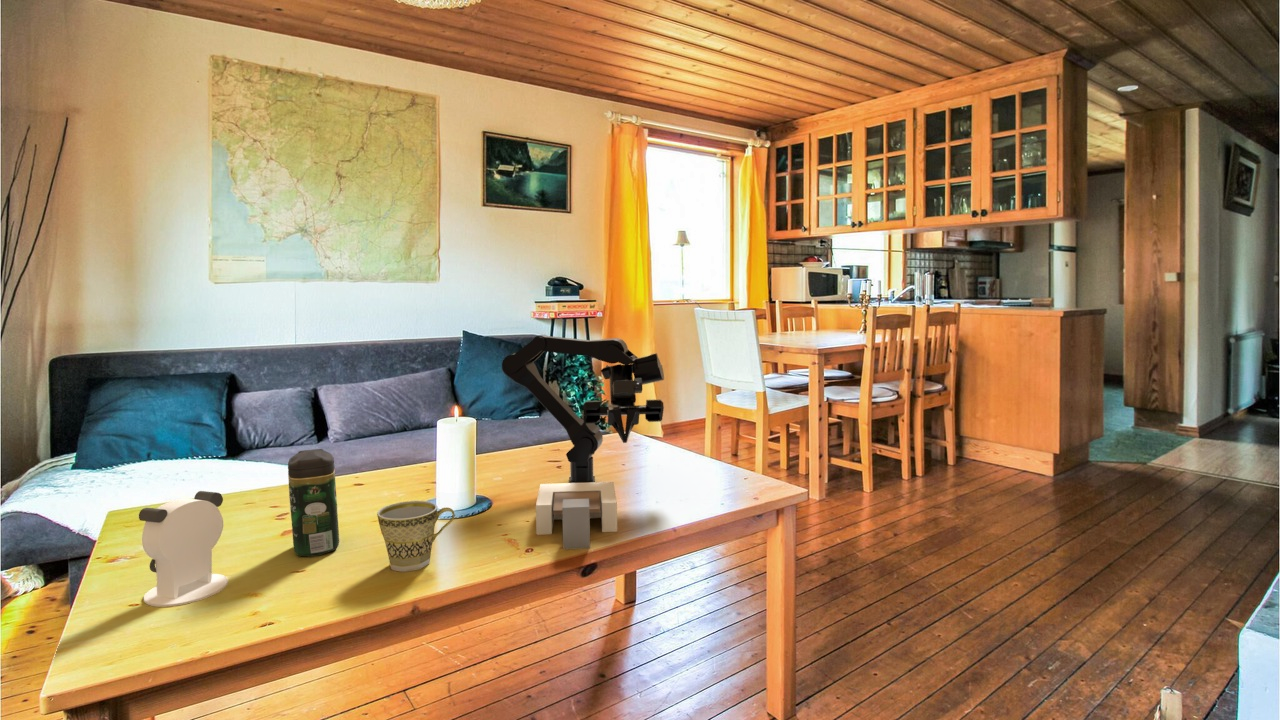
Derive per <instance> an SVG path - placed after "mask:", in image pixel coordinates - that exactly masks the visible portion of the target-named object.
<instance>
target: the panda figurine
mask: <svg viewBox="0 0 1280 720" xmlns="http://www.w3.org/2000/svg"><path fill="white" fill-rule="evenodd" d="M223 498H224V497H223V496H222V494H221V493H220V492H214V491H204V490H199V491H198V492H196V493H195V495H194V499H193V498H179V499H173V500H171V501H168V502H166V503H163V504H162V505H159V506H158V507H156V508H154V507H144V508H142V509H141V510H140V511H139V513H138V520H139V521H142V522H144V525H143V530H142V535H141V545H142V548H143V550H144V552H145V554H146V555H147V556H148V557H149V558H151V560H150V562H149V570H150V571H151V572H153V573H155V574H156V585H155V586H154V587H153V588H151V589H149V590H148V591H147V592H146V593H145V594H144V595H143V602H144V603H145V604H146V605H148V606H152V607H157V608H158V607H159V608H161V607H163V608H165V607H166V608H167V607H175V606H182V605H186V604H190V603H195V602H198V601H202V600H204V599H207V598H210V597H212V596H214V595H217V594H218V593H219V592H221V591H223V590H224V589H225V588H226V587H227V586H228V584H229V579H228V577H227V576H226V575H223V574H220V573H212V572H213V571H212V569H213V568H212V567H213V564H212V563H213V560H212V558H213V554H212V553H213V549H214V547H215V546H216V545H217V543H218V541H219V540H220V538H221V535H222V533H223V530H224V518H223V516H222V513H221V511H220V510H219V507H221V506H222V504H223V501H224V499H223Z"/></svg>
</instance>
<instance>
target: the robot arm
mask: <svg viewBox="0 0 1280 720" xmlns="http://www.w3.org/2000/svg"><path fill="white" fill-rule="evenodd" d="M545 352H548V353H556V354H566V355H576V356H585V357H590V358H593V359H595V360H598V361H601V362H604V363H608V364H607V365H606V366H605V367H603V368H601V370H600V372H601V374H602V377H603V378H604V380H609V394H610V395H609V396H610V399H609V400H610V404H607V406H601V401H600V400H586V401H584V402H583V418H581V417H579V416H578V414H577V413H575V412H574V411H573V410H572V408H570V406H569V405H568V404H567V403H566V402H565V401H564V400H563V398H561V397H560V396H559V395H558V393H556V392H555V390H553V388H552V387H551V386H550V385H549V383H547V382H546V381H545V380H544V379H543V378H542V376H541V375H540V373H539V370H538V368H537V366H536V364H535V363H534V362H535V361H537V360H538V359H539V358H540V357H541V355H542V354H543V353H545ZM609 364H614V365H609ZM501 370H502V372H503V374H504V375H505V376H507V377H508V378H509V379H511V380H512V381H513V382H514V383H516V384H518V385H520V386H522V387H524V388H525V389H526V390H528V391H529V392H530V393H531V395H533V396H534V398H536V399H537V401H538V402H539V403H540V404H541V405H542V406H543V407H544V408H545V410H547V411H548V412H549V413H550V414H551V415H552V417H553V418H554V419H555V420H556V421H557V422H558V423H559V424H560V426H562V427H563V428H564V429H565V431H566V433H567V436H568V438H569V440H570V442H571V443H572V445H573V446H572V447H571V449H570V450H568V452H567V453H566V454H565V455H566V457H567V461H568V463H570V465H569V466H570V468H569V469H570V471H569V472H570V476H569V477H568V483H589V482H596V476H595V475H594V457H593V455H594V454H595V452H596V451H597V450H598V449H599V448H600V447H601V445H602V443H603V438H604V437H603V436H604V435H603V433H602V432H601V431H600V430H601V427H600V426H598V425H596V424H598V423H599V422H600V421H601V417H606V418H607V425H608V426H612V427H613V429H614V430H615V431H616V433H617V434H618V436H619V437H620V439H621V441H622V443H623V444H627V443H628V440H629V437H630V434H631V432H632V430H633V428H634V426H637V425H639V422H640V421H639V420H640V415H644V416H645V417H644V418H645V420H646V421H648V422H649V423H653V422H654V423H655V422H656V423H657V422H659V423H660V422H662V421H663V416H664V408H665V407H664V402H663V401H662V399H646V400H645V405H644V404H643V405H642V404H641V405H636V401H637V400H636V397H637V396H636V394H642V393H643V385H648V384H653V383H656V382H657V383H658V382H661V381H664V380H665V373H664V367H663V365H662V363H661V361H660V358H659V355H658V353H651V354H649V355H646V356H645V355H644V356H642V357H638V356H636V354H634V353H633V352H632V351H631V350H630V349H629V347H628V346H627V343H626V342H625V340H623V339H622V338H616V337H615V338H614V337H613V338H604V339H603V338H602V339H601V338H600V339H592V340H590V339H580V338H570V337H561V336H560V337H559V336H549V335H547V334H539V335H537V336H534V337H533V339H532V340H531V341H529V343H527V344H526V345H525V346H523V347H522V348H520V349H518V350H517V352H514V353H512V354H508V355H506V356H505V357H504V358H503V360H502V362H501ZM623 416H626V419H625V421H626V422H625V428H624V423H623V418H622V417H623Z"/></svg>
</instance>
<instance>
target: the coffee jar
mask: <svg viewBox="0 0 1280 720" xmlns="http://www.w3.org/2000/svg"><path fill="white" fill-rule="evenodd" d="M287 463H288V464H287V469H288V470H287V471H288V472H287V473H288V474H287V475H288V476H287V477H288V492H289V494H288V497H289V508H290V518H291V531H292V543H293V551H294V553H295V554H296V556H300V557H301V556H302V557H303V556H304V557H305V556H306V557H317V556H321V555H324V554H326V553H329V552H333V551H335V550H336V549H338V547H339V545H340V544H339V543H340V530H339V519H338V518H339V517H338V501H337V500H338V499H337V489H336V488H337V485H336V472H335V471H336V470H335V457H334V456H333V455H332V453H331V452H328V451H326V450H324V449H323V448H316V449H307V450H299V451H298V452H297V453H296V454H294V455H293V456H291V457H290V458H289V460H288V462H287Z"/></svg>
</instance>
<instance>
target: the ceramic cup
mask: <svg viewBox="0 0 1280 720" xmlns="http://www.w3.org/2000/svg"><path fill="white" fill-rule="evenodd" d="M446 512H450V513H451V515H452V516H451V519H449V521H447V522H446V523H445V524H444V525H443V526H441V528H439V530H438V532H435V526H436V523H437V521H438V520H439V517H440V516H441V515H442V514H443V513H446ZM455 516H456V514H455V511H454V510H453V509H452V508H451V507H441V508H440V509H439V510H438V505H437V504H436V503H434V502H431V501H426V500H410V501H409V500H407V501H401V502H395V503H391V504H388V505H385V506H383V507H382V508H380V509H379V510H378V511H377V513H376V517H377V521H378V525H379V528H380V531H381V535H382V538H383V540H384V543H385V547H386V552H387V556H388V561H389V565H390V569H391V570H392V571H396V572H400V573H401V572H402V573H405V572H406V573H407V572H411V571H412V572H413V571H418V570H421V569H423V568H424V567H426V566H428V565H429V564H430V563H431V554H432V549H433V543H434V542H435V540H436V538H437V537H439V535H440V534H441V533H442V531H444V530H445V528H447V527H448V525H449V526H450V525H451V523H453V522H454V520H455Z"/></svg>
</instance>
